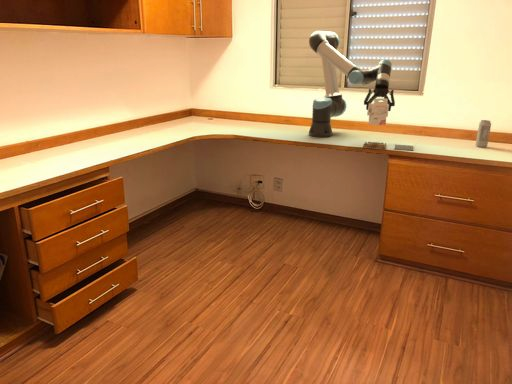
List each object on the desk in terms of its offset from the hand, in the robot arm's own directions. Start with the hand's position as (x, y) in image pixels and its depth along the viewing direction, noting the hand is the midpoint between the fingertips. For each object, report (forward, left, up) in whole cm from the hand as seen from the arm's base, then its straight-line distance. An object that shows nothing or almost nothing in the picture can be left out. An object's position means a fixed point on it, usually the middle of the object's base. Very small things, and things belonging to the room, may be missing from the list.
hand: (377, 114), depth 238 cm
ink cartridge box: (0, +3, -6) cm, 7 cm away
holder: (0, +3, -18) cm, 19 cm away
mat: (+16, +4, -18) cm, 25 cm away
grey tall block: (+58, +23, -19) cm, 65 cm away
